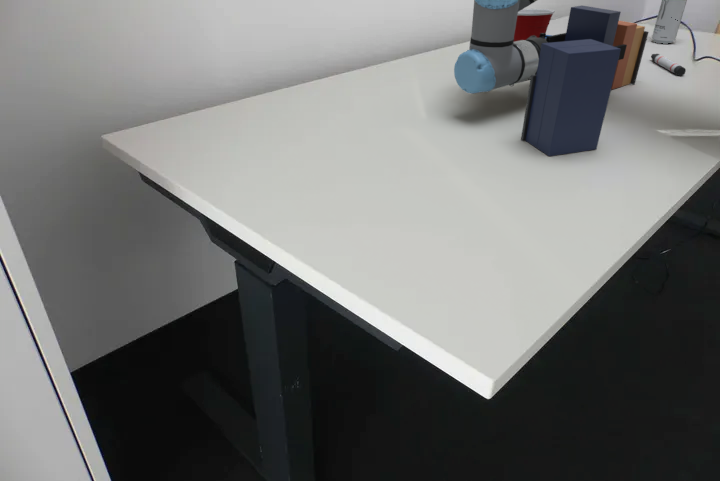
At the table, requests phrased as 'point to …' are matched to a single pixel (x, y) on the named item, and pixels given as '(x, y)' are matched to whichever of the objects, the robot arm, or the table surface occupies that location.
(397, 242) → the table surface
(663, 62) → the marker
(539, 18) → the plastic cup
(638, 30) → the terracotta books
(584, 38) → the navy book
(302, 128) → the table surface
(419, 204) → the table surface
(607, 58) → the navy books
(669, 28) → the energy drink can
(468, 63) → the robot arm
